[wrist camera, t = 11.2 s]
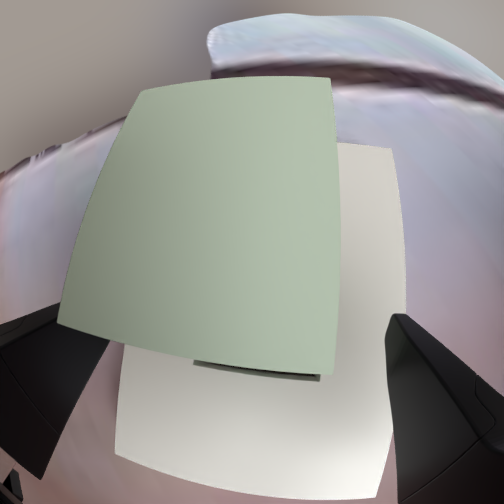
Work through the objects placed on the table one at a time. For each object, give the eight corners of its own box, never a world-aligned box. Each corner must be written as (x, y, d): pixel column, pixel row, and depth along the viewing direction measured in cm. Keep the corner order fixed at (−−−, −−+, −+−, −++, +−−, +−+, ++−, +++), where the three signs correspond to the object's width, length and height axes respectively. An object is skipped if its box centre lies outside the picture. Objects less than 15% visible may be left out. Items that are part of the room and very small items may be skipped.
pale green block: (299, 357, 15) (333, 374, 3) (229, 349, 16) (56, 322, 4) (307, 272, 17) (330, 78, 5) (240, 267, 17) (141, 90, 5)
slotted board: (362, 477, 12) (375, 497, 9) (139, 442, 14) (114, 453, 11) (381, 175, 18) (391, 148, 15) (191, 166, 21) (178, 140, 18)
